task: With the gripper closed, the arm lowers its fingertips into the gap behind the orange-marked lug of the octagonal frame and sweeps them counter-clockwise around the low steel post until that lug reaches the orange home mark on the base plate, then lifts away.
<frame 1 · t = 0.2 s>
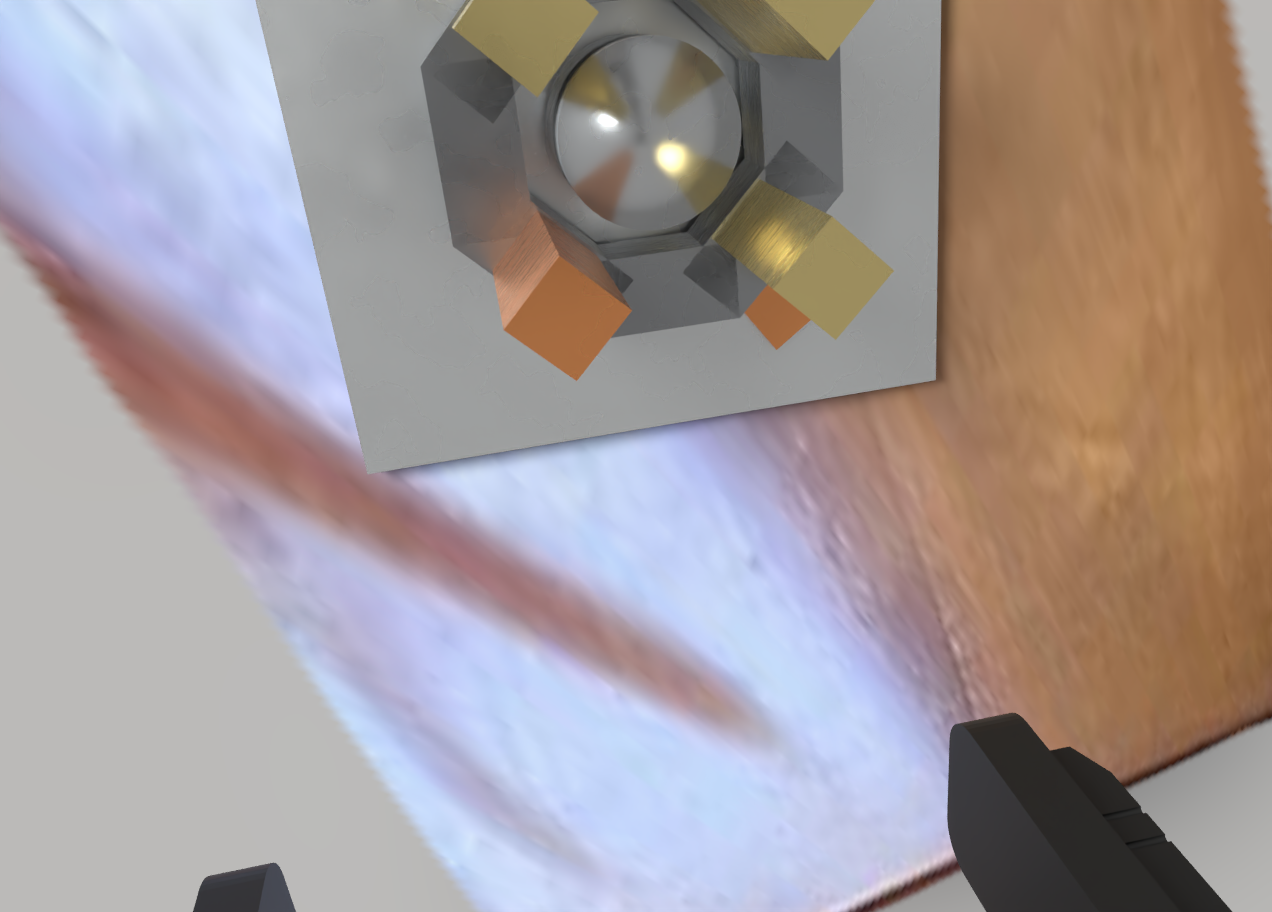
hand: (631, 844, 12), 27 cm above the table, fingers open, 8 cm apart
base plate: (624, 121, 35), on the table
octagonal frame: (656, 139, 30), point 6 cm above the table, hinge at 0.0°
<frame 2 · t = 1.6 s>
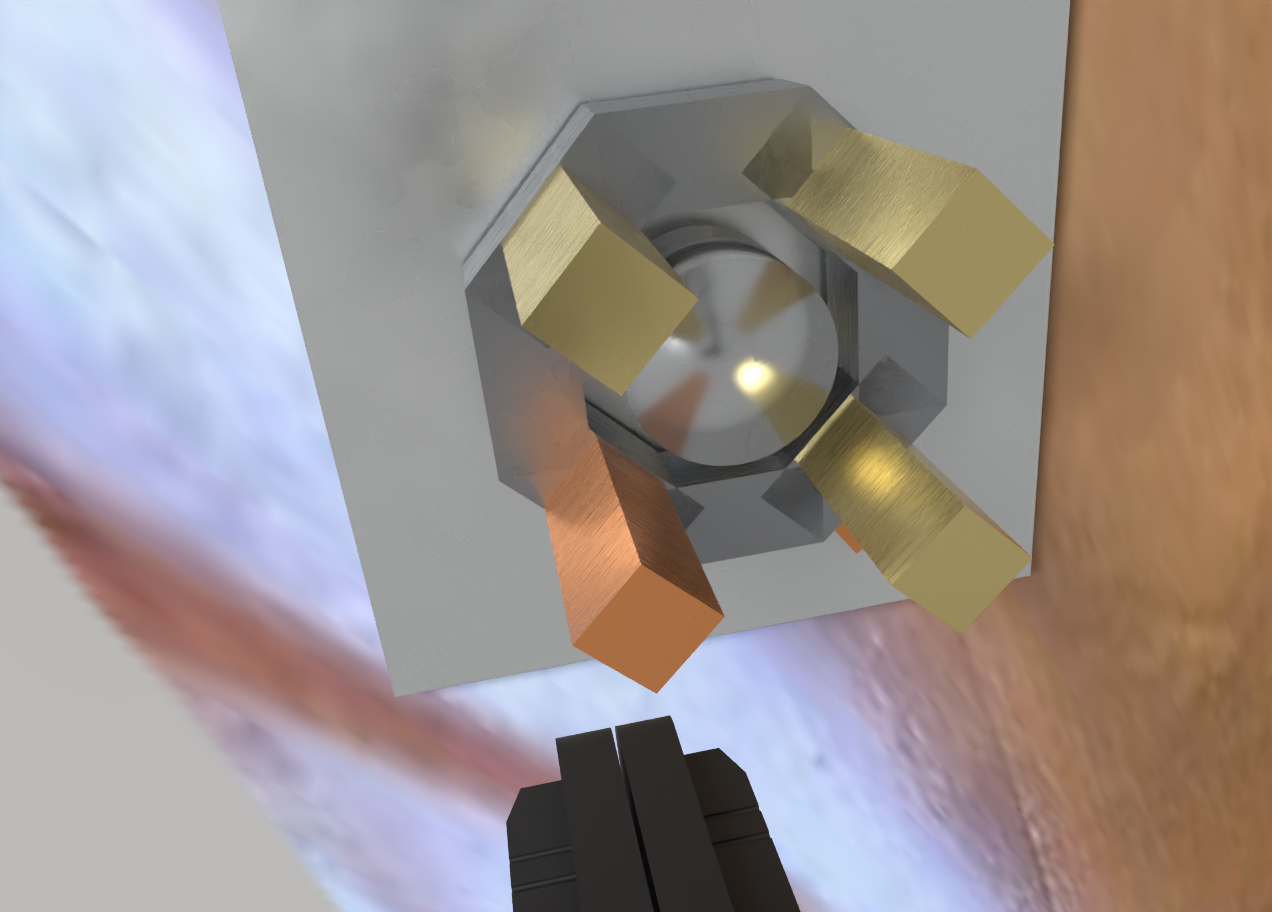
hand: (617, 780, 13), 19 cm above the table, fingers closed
base plate: (690, 312, 31), on the table
octagonal frame: (743, 378, 25), point 6 cm above the table, hinge at 0.0°
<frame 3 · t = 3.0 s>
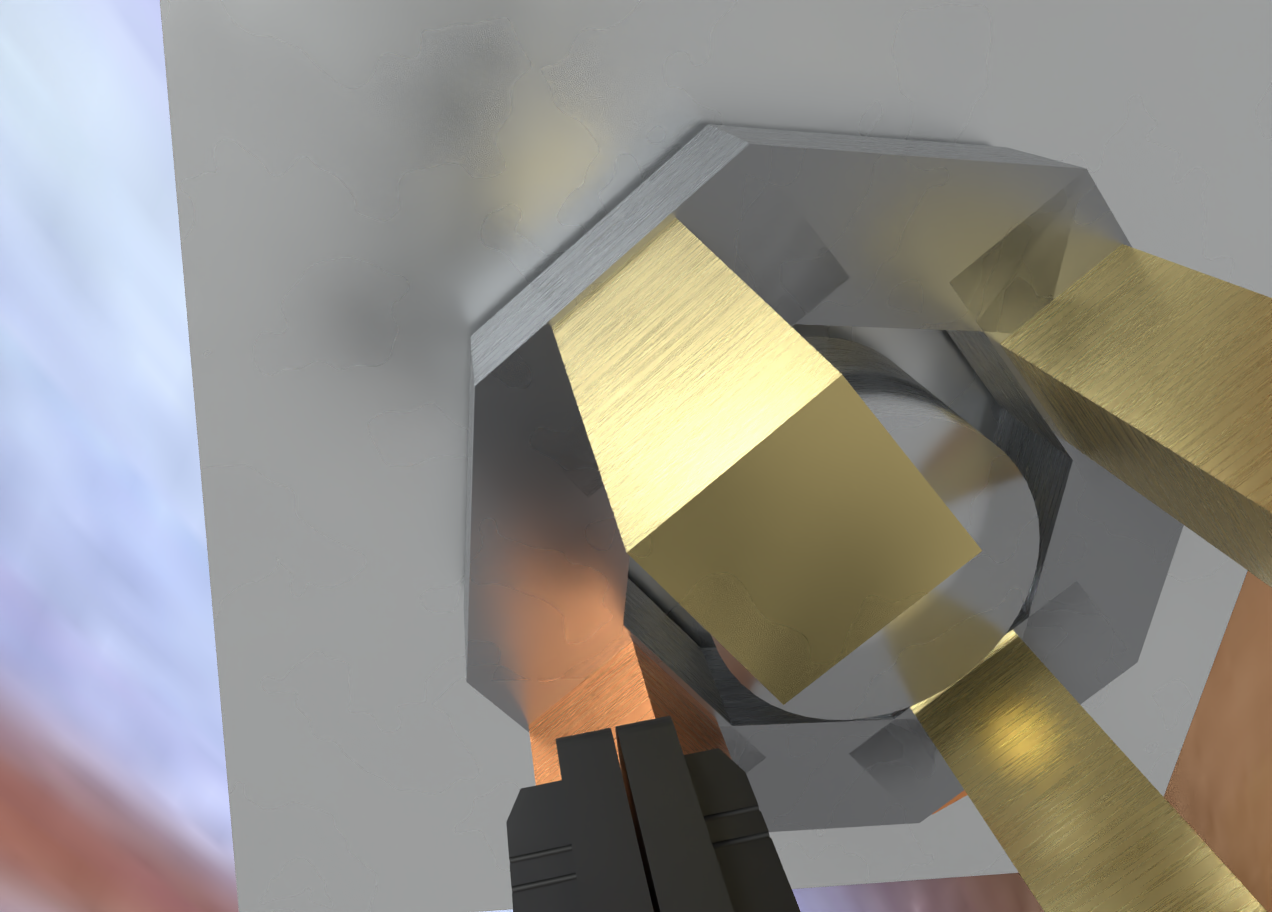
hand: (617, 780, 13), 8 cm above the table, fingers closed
base plate: (782, 453, 21), on the table
octagonal frame: (899, 609, 16), point 6 cm above the table, hinge at 0.0°, touching gripper
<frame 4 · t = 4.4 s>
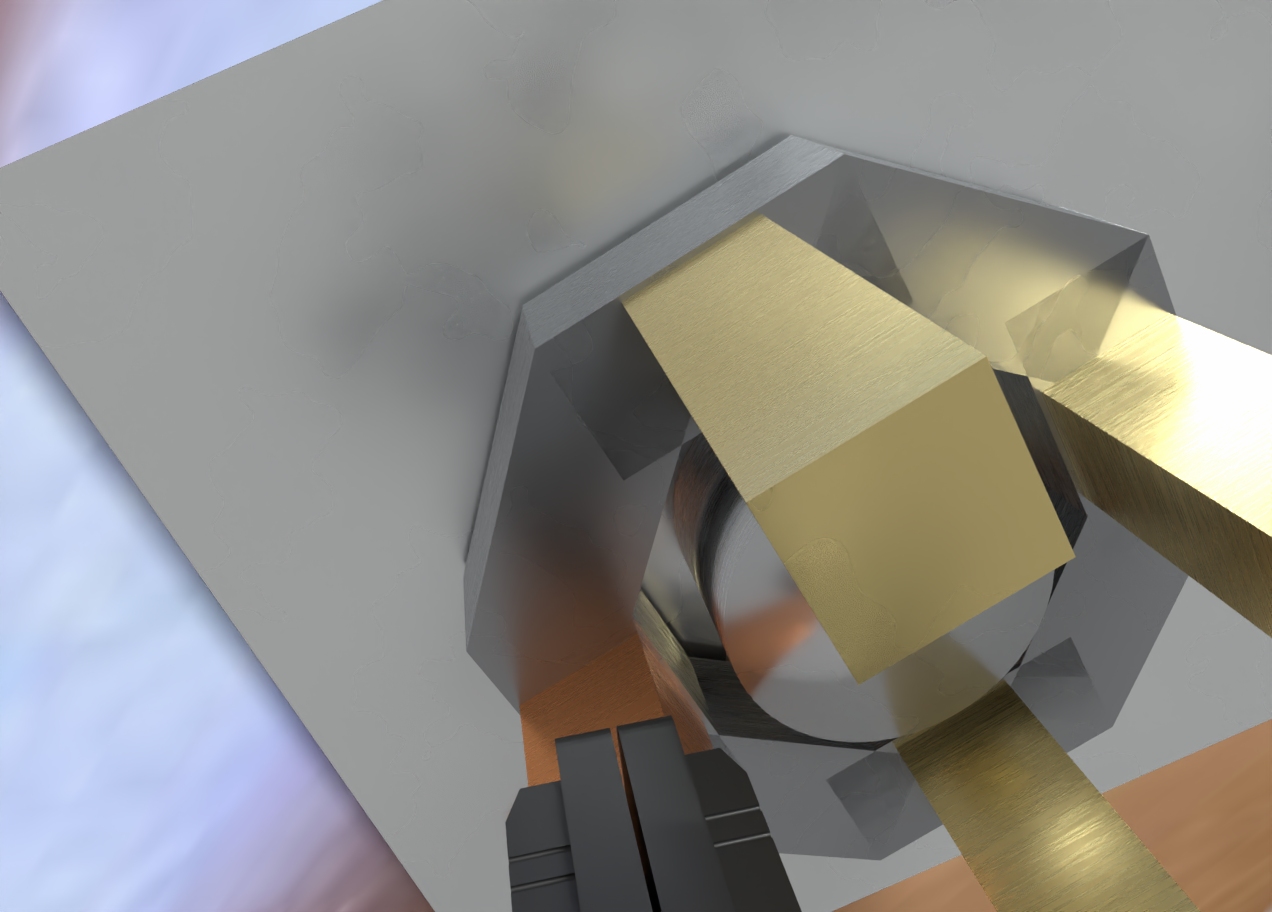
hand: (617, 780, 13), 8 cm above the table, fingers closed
base plate: (796, 474, 21), on the table
octagonal frame: (917, 633, 16), point 6 cm above the table, hinge at 53.9°, touching gripper
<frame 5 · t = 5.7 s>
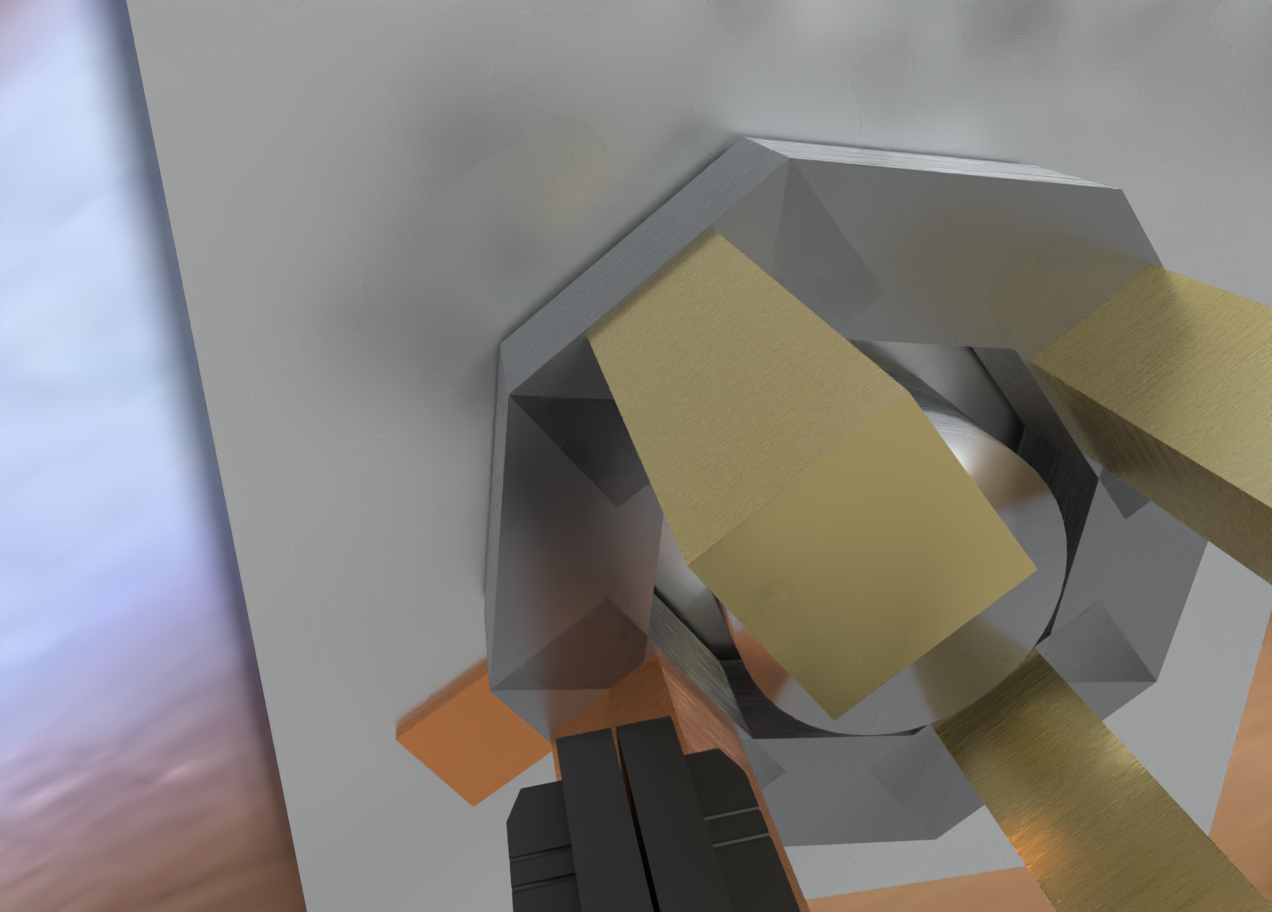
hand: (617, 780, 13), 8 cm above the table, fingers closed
base plate: (804, 466, 21), on the table
octagonal frame: (929, 625, 16), point 6 cm above the table, hinge at 82.8°
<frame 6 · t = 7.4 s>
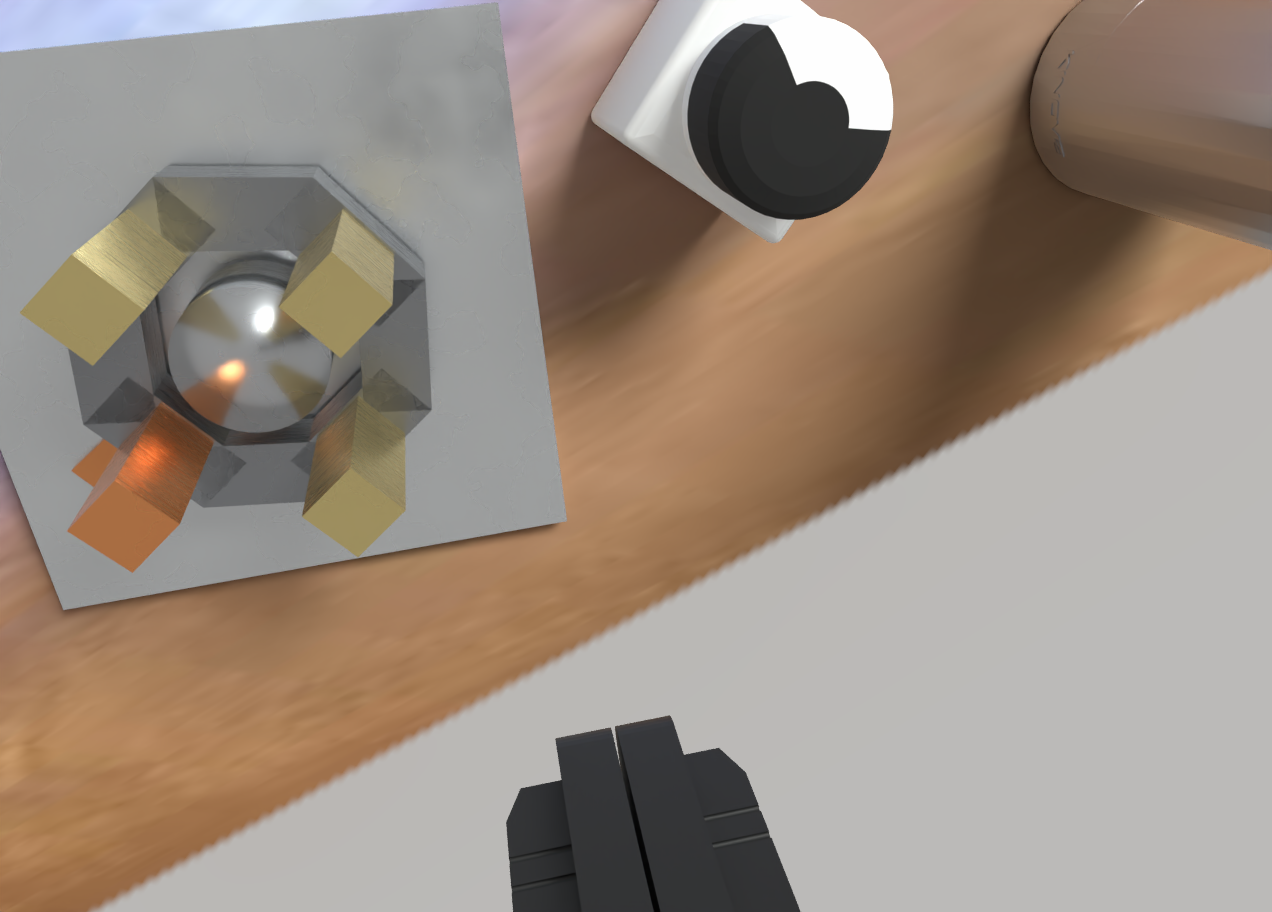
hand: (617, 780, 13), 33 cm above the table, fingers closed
medicine bottle: (704, 89, 42), on the table
base plate: (267, 322, 42), on the table
octagonal frame: (247, 370, 37), point 6 cm above the table, hinge at 82.8°
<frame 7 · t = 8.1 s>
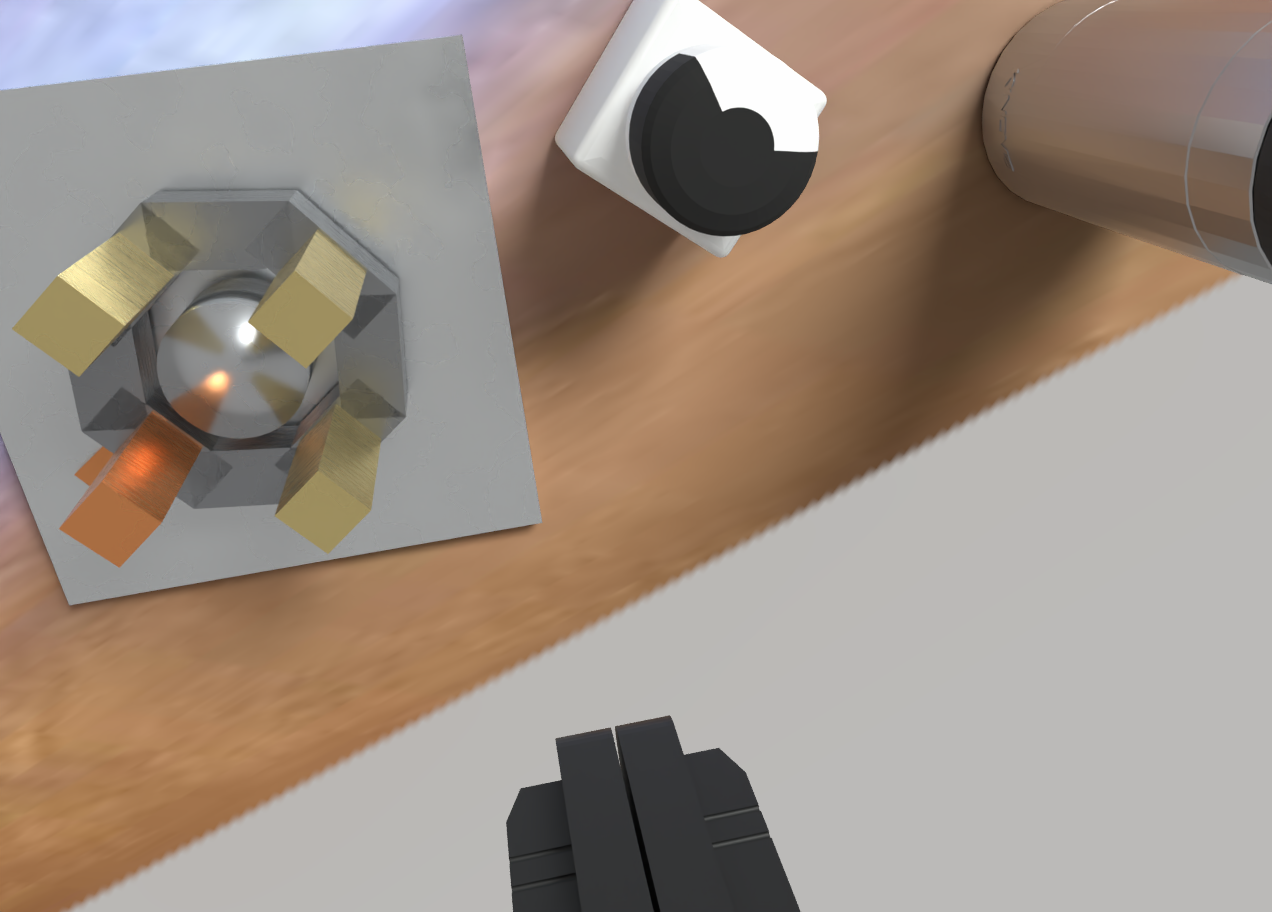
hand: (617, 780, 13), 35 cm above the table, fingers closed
medicine bottle: (663, 111, 44), on the table
base plate: (254, 335, 45), on the table
octagonal frame: (228, 380, 39), point 6 cm above the table, hinge at 82.8°
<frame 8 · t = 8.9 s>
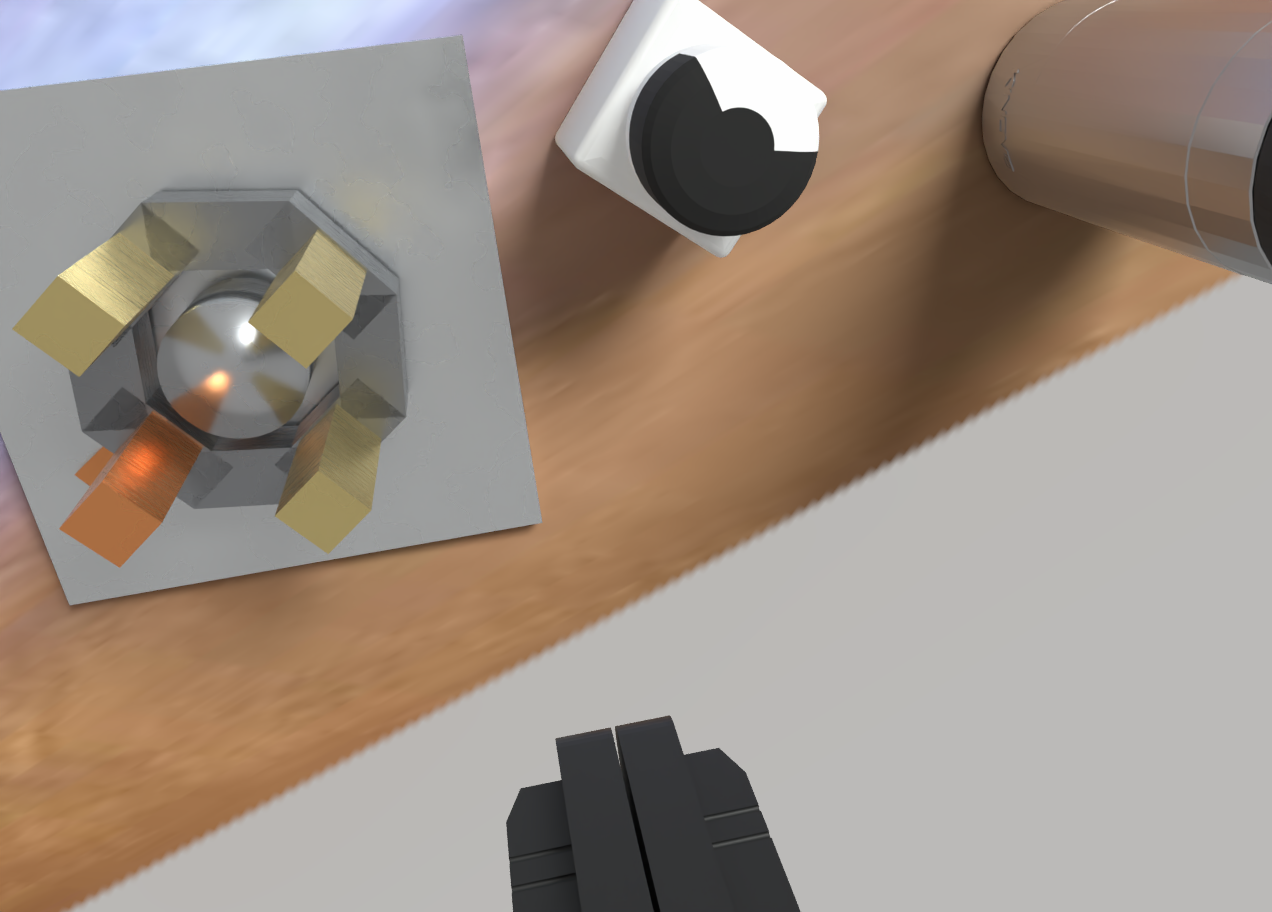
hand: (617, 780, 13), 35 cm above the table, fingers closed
medicine bottle: (663, 111, 44), on the table
base plate: (254, 335, 45), on the table
octagonal frame: (229, 380, 39), point 6 cm above the table, hinge at 82.8°
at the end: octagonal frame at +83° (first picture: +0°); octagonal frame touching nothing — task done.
